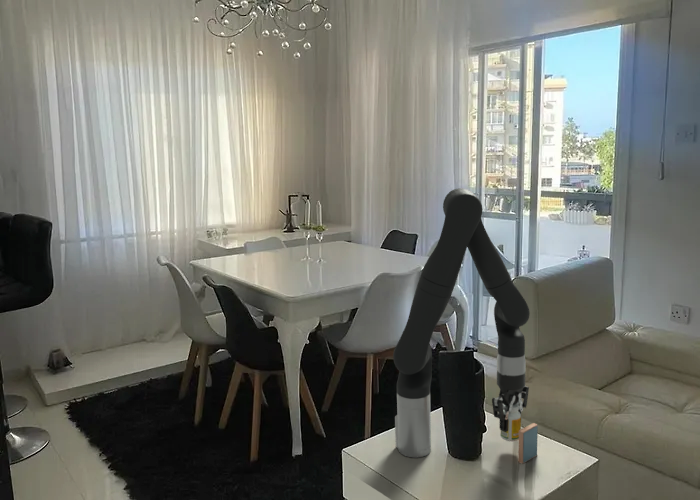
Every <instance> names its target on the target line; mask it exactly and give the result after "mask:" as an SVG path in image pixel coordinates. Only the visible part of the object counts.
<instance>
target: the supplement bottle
mask: <svg viewBox="0 0 700 500" xmlns="http://www.w3.org/2000/svg"><path fill="white" fill-rule="evenodd" d="M503 406H504V407H507V408H508V406H506V405H504V404H503ZM518 410H519V405H518V404H514V405H513V406H512V410H511V412H509V416H508V431H507V432H504V431H501V430H500V438H502V440H504V441H506V442H519V430H521V429H522V428H521V427H522V413H521V414H520V412H519V411H518ZM503 412H504V414H505V410H503Z"/></svg>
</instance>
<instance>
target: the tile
mask: <svg viewBox="0 0 700 500" xmlns="http://www.w3.org/2000/svg"><path fill="white" fill-rule="evenodd" d="M517 453H518V456H517V457H518V458H517V459H518V463H519V464H522V465H523V464H525V463H527V462H528V461H530V460H531V459H533V458H535V457H536V456H538V424H537V423H535V422H532V423H530V424H529V425H527V426H525V427H523V428H521V430H519V440H518V452H517Z"/></svg>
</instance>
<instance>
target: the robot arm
mask: <svg viewBox="0 0 700 500" xmlns="http://www.w3.org/2000/svg"><path fill="white" fill-rule="evenodd" d="M442 209H443V210H442V211H443V214H444V215H445V216H444V220H443V221H444V222H443V225H442V229H441V233H440V236H439V238H438V241H437V244H436V246H435V247H434V249H433V250H432V253H431V254H430V255H429V257H428V259H427V260H426V262H425V264H424V266H423V268H422V271H421V273H420V277H419V279H418V282H417V285H416V289H415V293H414V295H413V298H412V302H411V307H410V311H409V314H408V318H407V322H406V324H405V326H404V329H403V331H402V334H401V335H400V337H399V340H398V341H397V343H396V346H395V348H394V350H393V353H392V358H393V363H394V366H395V368H396V369H397V370H398V376H397V377H398V378H397V382H396V403H397V404H396V407H397V408H396V411H397V412H396V413H397V414H396V415H395V416H394V429H395V430H394V432H395V433H394V434H395V436H394V437H395V447H396V448H397V449H398V450H397V451H398V452H399V453H400V454H401V455H402V456H405V457H409V458H422V457H425V456H428V455H429V454H430V453H431V452H432V442H431V441H432V440H431V439H432V431H431V428H432V427H431V426H432V425H431V423H432V422H431V421H432V420H431V384H432V376H433V374H432V372H433V371H432V369H433V368H432V367H433V366H432V365H433V354H432V346H431V339H432V336H433V333H434V330H435V329H436V327H437V325H438V323H439V321H440V320H441V318H442V317H443V314H444V313H445V310H446V308H447V306H448V304H449V302H450V299H451V297H452V294H453V291H454V288H455V285H456V283H457V280H458V277H459V274H460V271H461V269H462V268H461V267H462V265H463V261H464V257H465V254H466V250H467V249H468V252H469V254H470V256H471V258H472V262H473V264H474V266H475V268H476V271H477V272H478V276H479V277H480V279H481V281H482V283H483V285H484V287H485V289H486V291H487V292H488V294H489V295H490V296H491V297H492V298H493V299H494V300H495V301H496V302H495V304H494V307H493V308H494V309H493V315H494V316H493V317H494V323H495V329H496V333H497V358H496V385H497V387H498V388H499V394H498V396H497V397H492V399H491V403H492V404H491V406H492V411H493V417H494V418H497V419H499V430H500V432H501V431H504V432H507V431H508V416H509V412H511V410H512V406H513V405H514V404H518V405H519V410H518V411H519V412H520V414H521V415H522V412H523V410H524V409H526V408H527V407H528V406H527V405H528V397H529V391H530V387H529V386H527V385H526V365H527V363H526V357H525V354H526V351H525V350H526V342H525V341H526V338H525V335H524V334H523V332H522V331H521V328H520V327H523V326H525V325H526V324H527V322H528V321H529V319H530V308H529V305H528V303H527V300H526V299H525V298H524V296H523V295H522V294H521V291H519V289H518V287H517V286H516V285H515V283H514V282H513V280H512V277H511V275H510V273H509V271H508V268H507V266H506V264H505V262H504V260H503V259H502V257H501V255H500V253H499V252H498V250H497V248H496V247H495V245H494V243H493V241H492V240H491V237H489V234H488V232H487V230H486V227H485V225H484V223H483V220H482V215H483V205H482V202H481V200H480V198H479V197H478V196H477V195H476V194H475V193H474V192H473V191H472V190H470V189H467V188H454V189H451V190H450V191H449V192H448V193H447V194H446V196H445V197H444V199H443V203H442ZM504 405H506V406H508V408H507V407H504ZM503 410H505V414H504V412H503Z"/></svg>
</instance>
